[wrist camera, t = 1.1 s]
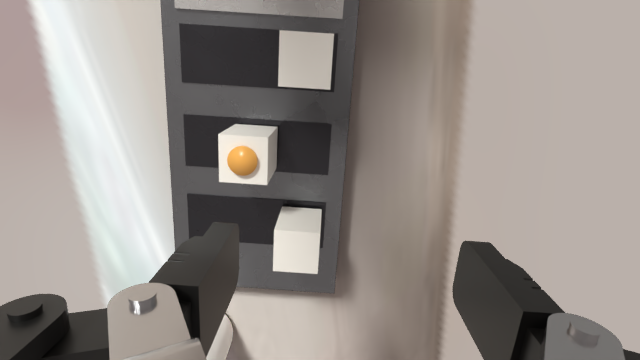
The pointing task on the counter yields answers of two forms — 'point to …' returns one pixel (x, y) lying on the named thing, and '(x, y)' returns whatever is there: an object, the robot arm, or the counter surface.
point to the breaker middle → (247, 154)
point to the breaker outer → (297, 240)
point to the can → (221, 341)
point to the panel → (256, 109)
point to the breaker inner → (305, 59)
